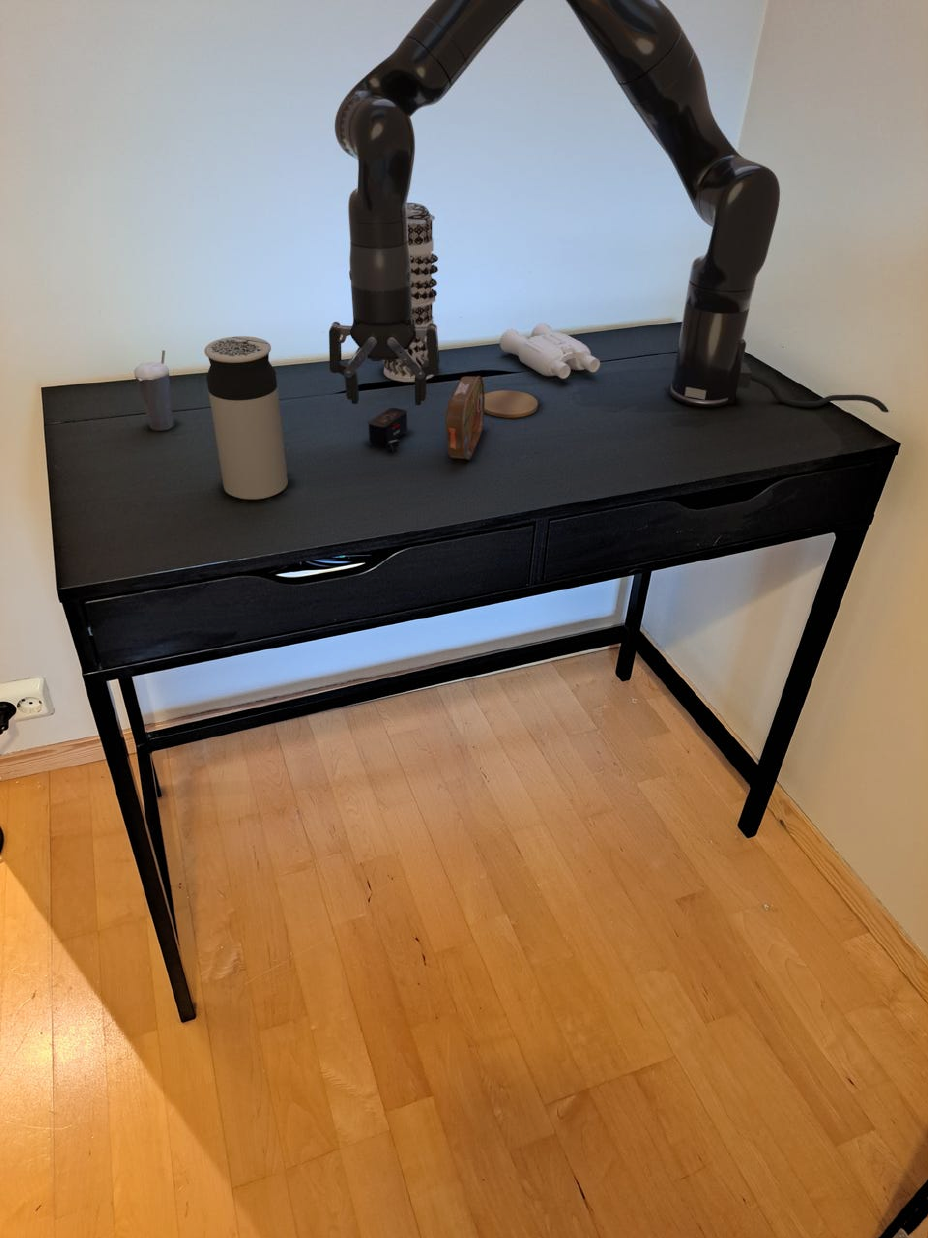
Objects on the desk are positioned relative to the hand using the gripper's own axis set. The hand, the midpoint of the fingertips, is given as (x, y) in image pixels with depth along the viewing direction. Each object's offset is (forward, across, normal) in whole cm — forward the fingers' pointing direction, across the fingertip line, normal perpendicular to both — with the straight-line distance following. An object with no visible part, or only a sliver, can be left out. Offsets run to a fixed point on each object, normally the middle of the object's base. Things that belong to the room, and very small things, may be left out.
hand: (386, 402), depth 121 cm
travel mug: (+6, +15, +14) cm, 22 cm away
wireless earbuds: (+6, 0, 0) cm, 6 cm away
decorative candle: (+6, -1, -26) cm, 27 cm away
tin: (+6, -11, 0) cm, 12 cm away
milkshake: (+6, +32, -3) cm, 33 cm away
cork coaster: (+6, -17, -14) cm, 23 cm away
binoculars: (+6, -24, -31) cm, 40 cm away
